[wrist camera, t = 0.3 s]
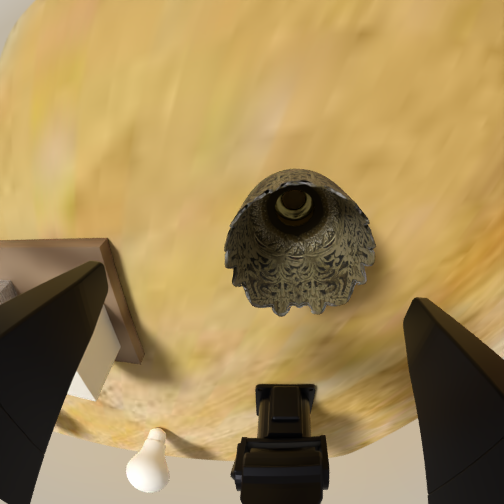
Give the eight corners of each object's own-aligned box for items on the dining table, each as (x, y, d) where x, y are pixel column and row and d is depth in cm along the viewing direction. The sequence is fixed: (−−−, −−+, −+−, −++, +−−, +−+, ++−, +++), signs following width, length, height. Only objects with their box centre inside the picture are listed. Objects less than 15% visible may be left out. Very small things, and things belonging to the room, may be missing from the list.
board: (144, 353, 32) (140, 364, 31) (22, 333, 33) (17, 341, 32) (107, 237, 25) (99, 247, 23) (-21, 241, 26) (-29, 247, 25)
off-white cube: (120, 346, 29) (96, 401, 23) (74, 339, 30) (47, 388, 24) (102, 300, 26) (68, 356, 20) (53, 296, 27) (18, 345, 21)
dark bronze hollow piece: (348, 147, 20) (386, 187, 13) (342, 244, 24) (365, 316, 17) (236, 148, 21) (215, 187, 14) (243, 245, 24) (230, 317, 17)
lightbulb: (146, 413, 39) (126, 480, 30) (185, 429, 40) (171, 495, 31) (136, 426, 42) (118, 486, 33) (171, 441, 43) (157, 500, 34)
